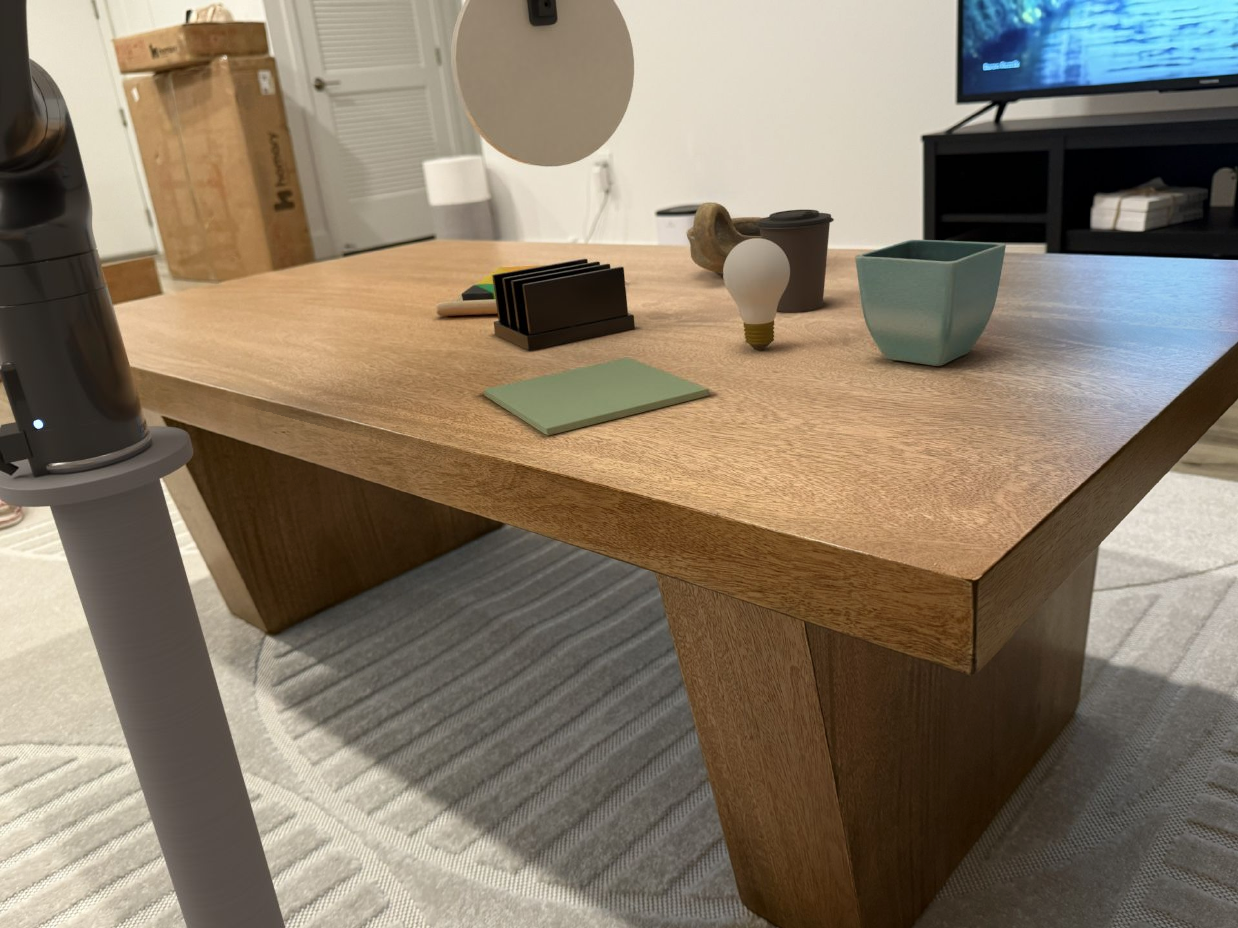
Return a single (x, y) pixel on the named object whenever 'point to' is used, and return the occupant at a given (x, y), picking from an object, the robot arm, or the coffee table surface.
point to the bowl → (718, 235)
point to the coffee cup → (800, 255)
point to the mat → (592, 394)
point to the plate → (543, 77)
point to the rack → (560, 303)
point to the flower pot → (929, 297)
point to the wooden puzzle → (476, 297)
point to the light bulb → (757, 286)
